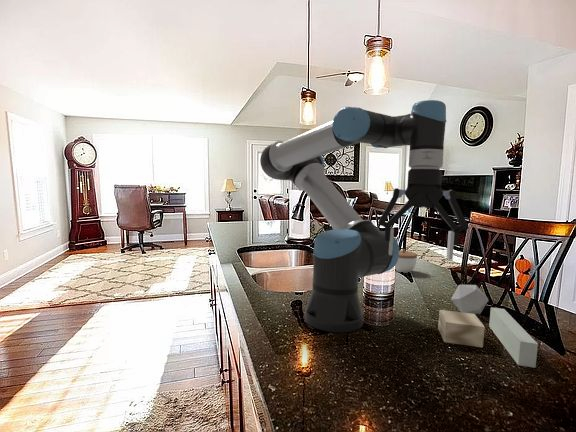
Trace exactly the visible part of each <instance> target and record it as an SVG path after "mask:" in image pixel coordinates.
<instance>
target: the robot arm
mask: <svg viewBox="0 0 576 432" xmlns="http://www.w3.org/2000/svg"><path fill="white" fill-rule="evenodd" d="M446 124H447V107H446V104H445V103H444V102H443V101H442V100H435V99H429V100H428V99H427V100H426V99H425V100H421V101H417V102H415V103H413V105H412V107H411V113H408V114H404V115H396V116H392V115H388V114H383V113H379V112H374V111H371V110H366V109H363V108H361V107H356V106H354V107H353V106H344V107H341V108H340V109H339V110H338V112H337V113H336V114H335V115H334V117H333V119H332V120H330V121H328V122H326V123H324V124H321V125H318V126H317V127H314V128H313V129H310V130H307V131H306V132H304V133H302V134H299V135H297V136H295V137H291V138H290V139H288V140H285V141H282V140H278V141H275V142H273V143H271V144H269V145H267V146H266V147H265V148H264V149H263V150H262V152H261V154H260V167H261V169H262V171H263V172H264V174H265V175H266V176H268V177H269V178H271V179H274V180H276V181H277V180H278V181H290V182H292V184H293V185H294V186H295V188H296V189H297V190H299V191H303V192H305V193H306V194H307V196H308V198H309V199H310V200H311V201H312V202H313V204H314V205H315V206H316V208H317V209H318V211H319V212H320V213H321V215H322V216H323V217H324V218H325V220H326V222H328V224H329V225H330V226H331V228H332V229H330V230H325V231H324V230H323V231H321V232H320V233H319V234H317V235H316V237H315V238H314V245H313V246H314V247H313V262H312V264H313V265H312V266H313V267H312V268H313V269H312V272H313V273H312V290H311V293H310V295H309V299H308V300H307V301H308V302H307V303H306V306H305V309H304V321H305V322H306V324H307V325H308V326H310V327H312V328H315V329H317V330H320V331H324V332H327V333H328V332H329V333H350V332H355V331H357V330H359V329H361V328H362V327H363V325H364V312H363V308H362V305H361V301H360V297H359V293H358V292H359V278H363V277H369V276H373V275H381V274H384V273H387V272H388V271H391V270H392V269H394V268H393V267H394V266H395V265H396V263H397V261H398V258H399V251H400V245H399V243H398V240H397V239H396V237H395V236H394V234H395V229H394V227H393V226H394V225H395V224H396V223H397V222H398V220H400V219H401V218H402V217H403V216H404V214H406V213H407V212H408V210H410V209H411V208H412V207H415V208H416V209H419V208H426V209H431V208H434V209H435V210H436V212H437V213H438V214H439V215H440V216H441V218H442V219H443V220H444V222H445V223H446V224H447V225H448V226H449V227H450V229H451V230H448V234H447V246H446V259H448V260H449V261H453V258H454V246H458V245H459V239H460V232H463V231H467V230H469V228H470V227H469V225H468V223H467V220H466V219H465V216H464V214H463V211H462V209H461V207H460V205H459V203H458V200H457V193H456V190H455V189H449V190H443V189H442V180H443V178H442V177H443V171H442V170H441V168H443V164H444V145H445V136H446V135H445V134H446V132H445V131H446ZM356 144H368V145H370V146H372V147H373V148H375V149H378V148H379V149H388V148H393V147H404V146H409V155H408V167H409V168H410V169H409V170H408V171H407V184H406V185H407V186H406V189H400V188H397V187H395V188H394V189H393V192H392V197H391V199H390V200H389V202H388V204H387V205H386V207H385V209H384V211H383V213H382V214H381V216H380V218H379V220H378V221H377V223H378V225H379V226H381V227H383V228H384V229H385V230H384V231H382V230H379V229H378V228H377V226H376V225H375V224H374V223H373V222H372V221H371V220H369V219H363V218H362V217H361V216H360V215H359V214H358V212H357V211H356V209H354V207H352V205H351V204H350V203H349V202H348V201H347V200H346V198H345V197H344V196H343V195H342V193H341V192H340V191H339V190H338V189H337V188H336V187H335V185H334V184H333V183H332V182H331V181H330V179H329V178H328V177H327V176H326V175H325V174H326V173H325V172H326V170H325V164H324V162H325V160H324V158H323V156H324V155H328V154H330V153H332V152H336V151H338V150H342V149H344V148H347V147H351V146H353V145H356ZM403 195H405V197H406V198H407V201H406V202H405V203H404V205H403V206H402V207H400V209H398V210H397V212H396V213H395V214H394V215H393V216H391V218H390V219H389V220H388V221H386V220H387V218H388V217H389V215H390V213H391V212H392V210H393V208H394V206H395V205H396V203H397V201H398V199H399V198H402V197H403ZM443 196H444V198H445V199H446V200H448V203H449V206H450V207H451V210H452V212H453V215H454V216H455V218H456V221H457V222H458V223H457V224H458V225H457V224H456V222H455V221H454V220H453V218H452V217H451V216H450V215H449V213H448V212H447V211H446V209H445V208H444V207H443V205H442V204H441V203H440V199H441V198H442V197H443Z"/></svg>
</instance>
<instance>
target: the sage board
mask: <svg viewBox="0 0 576 432" xmlns="http://www.w3.org/2000/svg"><path fill="white" fill-rule="evenodd" d="M488 324H489V325H488V326H489V329H490V330H492V331H493V334H494V335H495V337H497V339H498V340H499V341H500V343H501V344H502V345H503V347H504V349H506V351H507V352H508V353H509V355H510V356H511V358H512V359H513V360H514V362H515V363H516V364H517V366H522V367H529V368H536V366H537V357H538V346H539V344H538V342H537V341H536V340H535V339H534V338H533V337H532V336H531V335H530V334H529V333H528V332H527V331H526V330H525V329H524V328H523V327H522V326H521V325H520V323H518V322H517V321H516V319H514V317H512V315H511V314H509V312H507V310H506V309H505V308H499V307H490V314H489V323H488Z"/></svg>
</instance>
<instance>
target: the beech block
mask: <svg viewBox="0 0 576 432" xmlns="http://www.w3.org/2000/svg"><path fill="white" fill-rule="evenodd" d="M438 311H439V314H438V324H437V325H438V326H437V329H438V331H439V333H440V335H441V338H442V340H443V343H448V344H455V345H461V346H463V345H464V346H469V347H470V346H471V347H476V348H483V347H484V342H485V341H484V340H485V339H484V338H485V330H486V329H485V328H486V327H485V326H484V324H483V322H482V321H481V320H480V319H479V318H478V316H477V314H471V313H463V312H460V311H453V310H444V309H439V310H438Z"/></svg>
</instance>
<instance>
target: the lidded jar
mask: <svg viewBox="0 0 576 432" xmlns="http://www.w3.org/2000/svg"><path fill="white" fill-rule="evenodd" d="M417 257H418V254H417V253H415V252H412V251H407V250H406V249H405V248H402V250H399V258H398V261H397V263H396V265H395V269H396V271H395V272H397V273H401V272H403V273H402V274H408V272H409V273H411V271H413V270H414V269H415V267H416V264H417ZM395 269H394V270H395Z"/></svg>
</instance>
